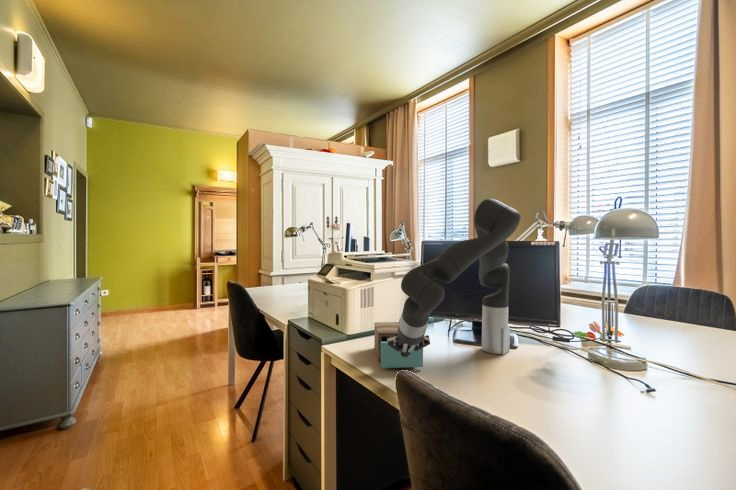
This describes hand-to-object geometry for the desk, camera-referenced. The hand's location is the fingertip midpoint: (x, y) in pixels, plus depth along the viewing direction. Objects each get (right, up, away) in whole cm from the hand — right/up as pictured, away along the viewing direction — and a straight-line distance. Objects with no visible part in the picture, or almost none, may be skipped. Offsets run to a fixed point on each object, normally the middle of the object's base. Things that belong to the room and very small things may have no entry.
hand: (404, 354), depth 110 cm
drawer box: (-1, -6, +22) cm, 23 cm away
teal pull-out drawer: (-1, -6, +12) cm, 13 cm away
